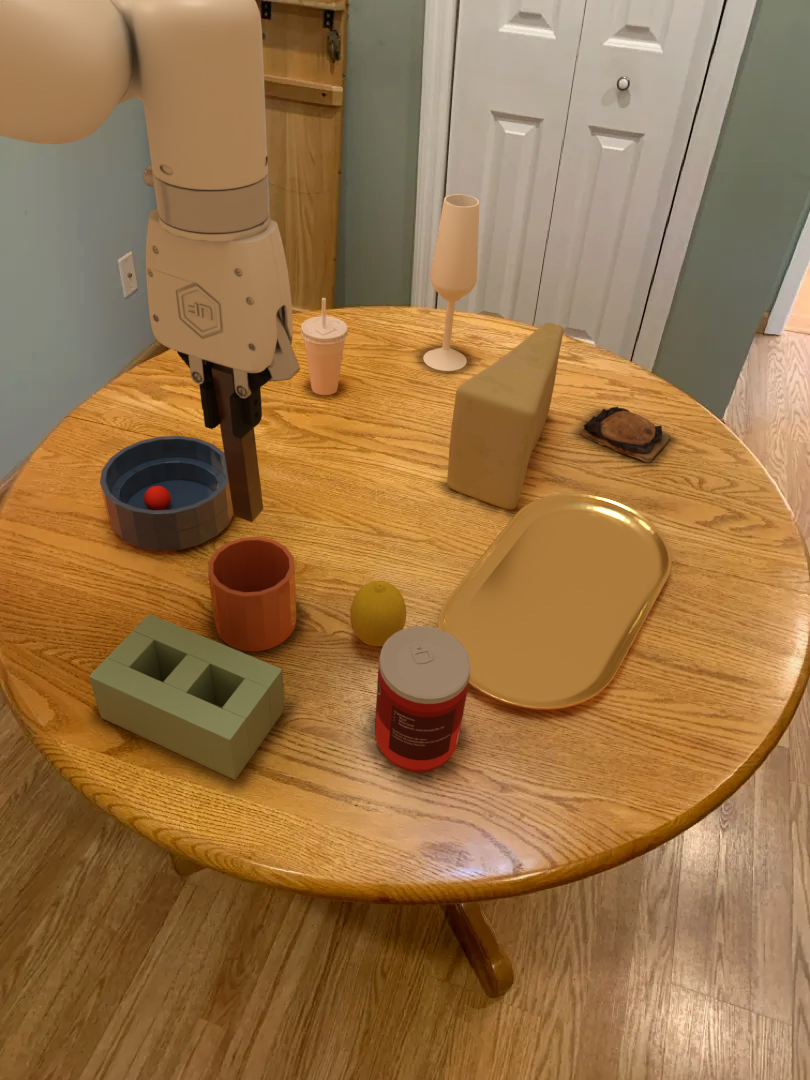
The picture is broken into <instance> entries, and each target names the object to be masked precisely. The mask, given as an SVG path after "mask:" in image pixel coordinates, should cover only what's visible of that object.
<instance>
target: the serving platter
mask: <svg viewBox="0 0 810 1080" xmlns="http://www.w3.org/2000/svg"><path fill="white" fill-rule="evenodd" d="M672 566H673V558H672V553H671V550H670V546H669V544H668V541H667V539H666V538H665V537H664V535H663V534H662V532H661V531H660V530H659V528H658V527H656V525H654V523H652V521H650V520H649V519H648V518H647V517H645V516H644V515H643V514H641V513H640V512H638V511H636V510H634V509H633V508H631V507H629V506H627V505H626V504H623V503H620V502H618V501H615V500H612V499H609V498H606V497H602V496H597V495H592V494H585V493H557V494H552V495H547V496H542V497H540V498H538V499H535V500H533V501H531V502H528V503H527V504H525V505H524V506H523V507H522V508H520V509H519V511H517V512H516V513H515V515H514V516H513V517H512V518H511V520H510V521H509V522H508V524H507V525H505V527H504V528H503V529H502V531H501V532H500V533H499V534H498V535H497V537H496V538H495V539H494V540H493V542H492V543H491V544H490V545H489V547H488V548H487V549H486V550H485V551H484V553H483V554H482V555H481V557H479V559H478V560H477V561H476V562H475V564H474V565H473V566H472V567H471V568H470V569H469V571H468V572H467V574H466V575H465V576H464V577H463V579H462V580H461V581H460V582H459V583H458V584H457V586H456V587H455V588H454V589H453V591H451V593H449V596H448V597H447V598H446V599H445V602H444V603H443V605H442V607H441V610H440V612H439V616H438V619H437V620H438V621H437V629H440V630H443V631H445V632H447V633H449V634H450V635H452V636H453V637H455V638H456V639H457V640H458V641H459V642H460V643H461V644H462V645H463V647H464V648H465V649H466V651H467V653H468V656H469V659H470V678H469V685H468V686H471V687H472V688H473V689H475V690H476V691H477V692H479V693H481V694H483V695H484V696H486V697H488V698H490V699H492V700H495V701H497V702H499V703H503V704H505V705H509V706H511V707H516V708H520V709H527V710H537V711H538V710H539V711H552V710H553V711H554V710H562V709H565V708H571V707H574V706H577V705H580V704H583V703H585V702H587V701H589V700H591V699H593V698H595V697H596V696H597V695H599V694H600V693H602V692H603V691H604V690H605V689H607V687H608V686H609V685H610V684H611V683H612V681H613V680H614V679H615V677H616V676H617V673H618V671H619V669H620V667H621V666H622V664H623V662H624V661H625V659H626V656H627V655H628V653H629V651H630V650H631V648H632V646H633V644H634V642H635V640H636V638H637V637H638V635H639V633H640V630H641V629H642V627H643V625H644V623H645V622H646V620H647V618H648V616H649V614H650V612H651V610H652V609H653V607H654V605H655V603H656V601H657V599H658V597H659V595H660V593H661V592H662V590H663V588H664V586H665V584H666V582H667V581H668V579H669V577H670V574H671V571H672Z"/></svg>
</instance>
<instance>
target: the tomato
mask: <svg viewBox="0 0 810 1080" xmlns="http://www.w3.org/2000/svg"><path fill="white" fill-rule="evenodd" d="M144 502H145V505H146V506H147V508H149V509H150V510H154V511H155V510H165V509H167V508H168V507H169V505H170V503H171V495H170V493H169V491H168V490H167V489H166V488H164V487H162V486H153V487H151V488H149V489H148V490H147V491H146V493H145V495H144Z"/></svg>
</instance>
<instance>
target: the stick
mask: <svg viewBox="0 0 810 1080" xmlns="http://www.w3.org/2000/svg"><path fill="white" fill-rule="evenodd" d="M211 370H212V377H213V383H214V388H215V394H216V401H217V407H218V414H219V420H220V424H219V428H220V435H221V441H222V447H223V452H224V455H225V461H226V468H227V474H228V481H229V487H230V494H231V500H232V507H233V513H234V515H233V516H234V517H236V518H239V519H242V520H244V521H247V522H250V523H254V521H255V520H256V519H257V517H258V516H259V515H260V514H261V513H262V512H263V511H264V502H263V493H262V484H261V476H260V469H259V461H258V460H259V459H258V452H257V451H258V449H257V443H256V433H255V427H254V428H253V429H252V430H251V431H250V432H248V433H247V434H246V435H245V436H244V437H243V438H242V439H239V438H236V437H234V435H233V432H232V421H231V410H230V396H231V395H232V394H233V393H234V392H235V384H234V373H233V368H229V367H226V366H223V365H220V364H215V365H214V366H213V367H212V368H211Z"/></svg>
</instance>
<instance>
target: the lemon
mask: <svg viewBox="0 0 810 1080" xmlns="http://www.w3.org/2000/svg"><path fill="white" fill-rule="evenodd" d="M349 615H350V616H349V617H350V618H349V620H350V625H351V628H352V630H353V633H354V634H355V635H356V637H357V638H358V640H360V641H361V642H363V643H365V644H366V645H368V646H372V647H383V645H384V644H385V642H386V641H387V640H388V638H390V637H391V636H392V635H393V634H394V633H396V632H398V631H400V630H402V629H405V625H406V620H407V607H406V603H405V599H404V596H403V594H402V593H401V591H400V590H399V589H398V588H397V587H396V586H395V585H394V584H392V583H390V582H387V581H385V580H374V581H370V582H367V583H366V584H364V585H363V586H361V587H360V588H359V589H358V590H357V592H356V593H355V595H354V597H353V599H352V602H351V605H350V611H349Z"/></svg>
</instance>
